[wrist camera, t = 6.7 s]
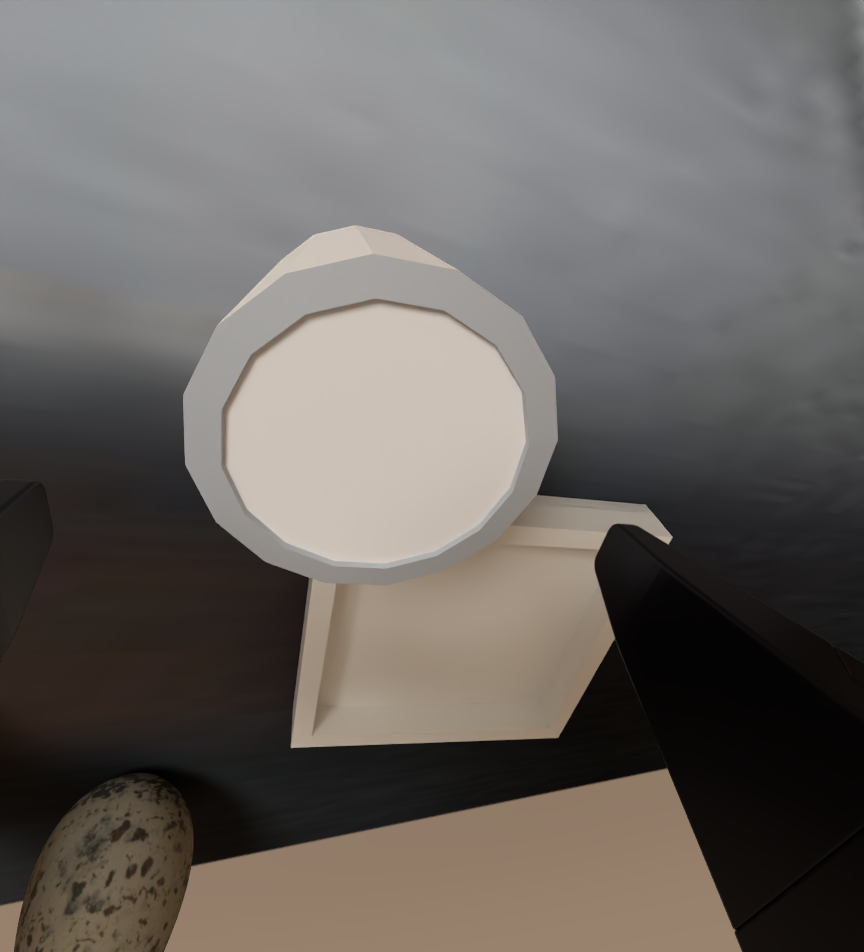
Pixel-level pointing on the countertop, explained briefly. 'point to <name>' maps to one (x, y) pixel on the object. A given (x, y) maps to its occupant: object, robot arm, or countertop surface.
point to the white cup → (369, 413)
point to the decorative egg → (111, 871)
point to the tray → (465, 638)
